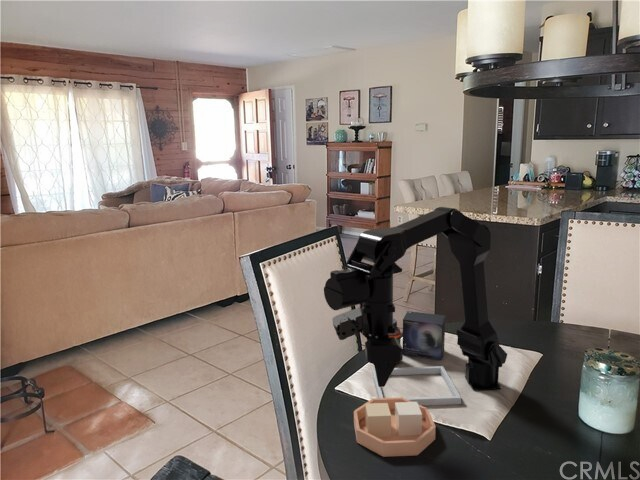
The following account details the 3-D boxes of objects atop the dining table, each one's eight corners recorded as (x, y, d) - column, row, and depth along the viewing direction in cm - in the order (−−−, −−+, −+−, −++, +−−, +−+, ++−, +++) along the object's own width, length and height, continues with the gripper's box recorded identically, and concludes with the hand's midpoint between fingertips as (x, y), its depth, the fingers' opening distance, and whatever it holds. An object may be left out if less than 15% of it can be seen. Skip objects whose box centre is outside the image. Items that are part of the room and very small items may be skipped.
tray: (442, 371, 118) (442, 366, 117) (460, 403, 103) (461, 397, 103) (372, 374, 117) (371, 368, 117) (380, 407, 103) (380, 400, 103)
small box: (401, 355, 127) (401, 318, 125) (406, 345, 133) (406, 310, 131) (441, 361, 123) (442, 323, 121) (445, 350, 129) (446, 314, 127)
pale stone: (416, 421, 97) (417, 401, 96) (421, 435, 93) (421, 414, 92) (394, 422, 97) (394, 402, 96) (398, 435, 93) (398, 415, 92)
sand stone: (387, 422, 97) (387, 402, 96) (391, 436, 92) (391, 415, 92) (365, 423, 97) (365, 403, 96) (368, 437, 92) (367, 416, 91)
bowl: (422, 408, 102) (422, 396, 102) (441, 454, 87) (442, 441, 87) (351, 411, 102) (351, 399, 102) (359, 457, 87) (358, 444, 87)
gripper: (332, 284, 98) (334, 354, 101) (337, 318, 80) (339, 402, 83) (386, 282, 98) (386, 352, 101) (403, 315, 80) (402, 399, 83)
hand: (377, 374), depth 92 cm, fingers open, 9 cm apart
